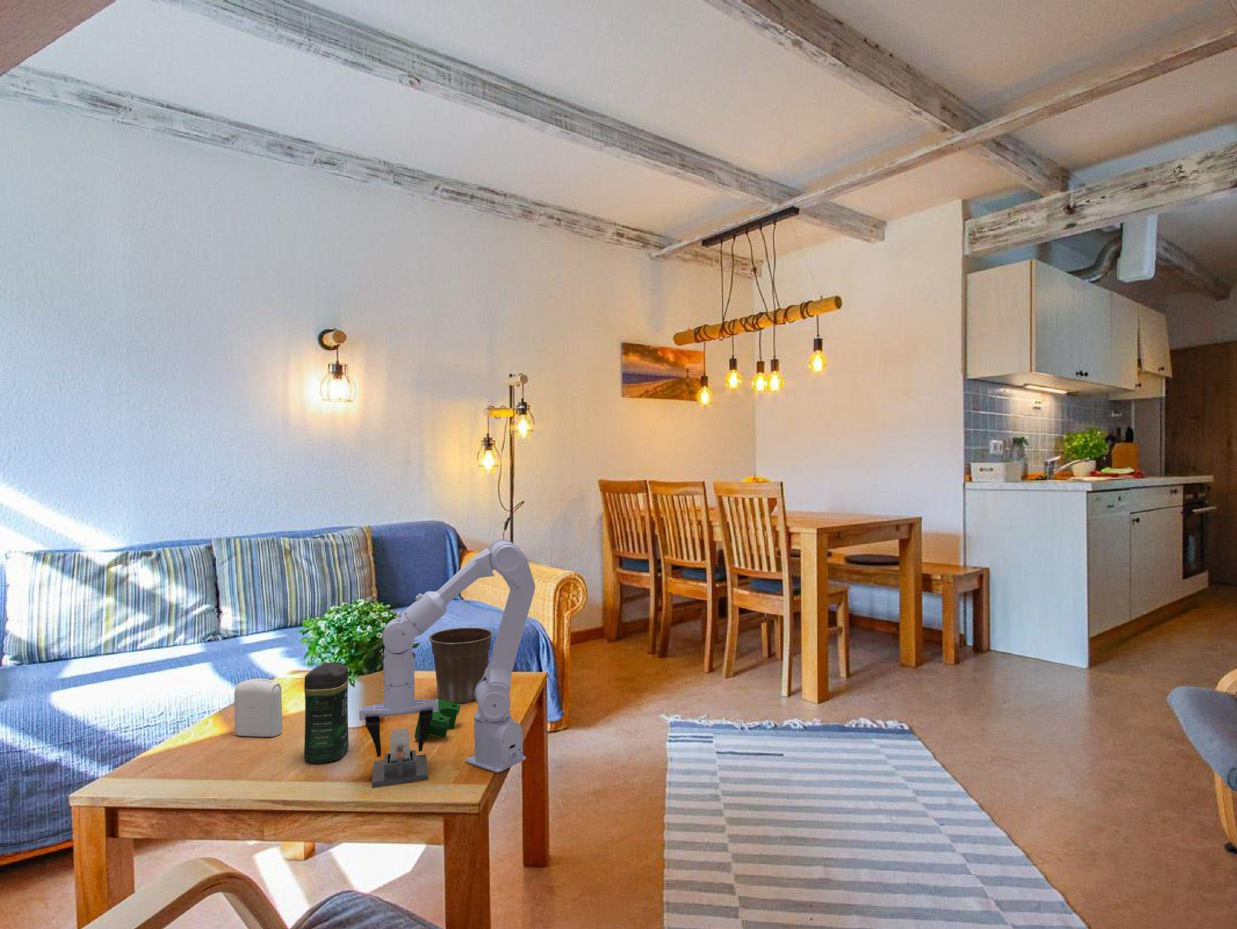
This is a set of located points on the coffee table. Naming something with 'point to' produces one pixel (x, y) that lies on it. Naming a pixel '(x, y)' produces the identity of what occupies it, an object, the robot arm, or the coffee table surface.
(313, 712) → the coffee jar
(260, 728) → the photo printer
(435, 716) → the clamp
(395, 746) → the pull-out drawer
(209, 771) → the coffee table surface
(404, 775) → the grey slotted holder
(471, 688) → the plant pot
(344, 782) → the coffee table surface
